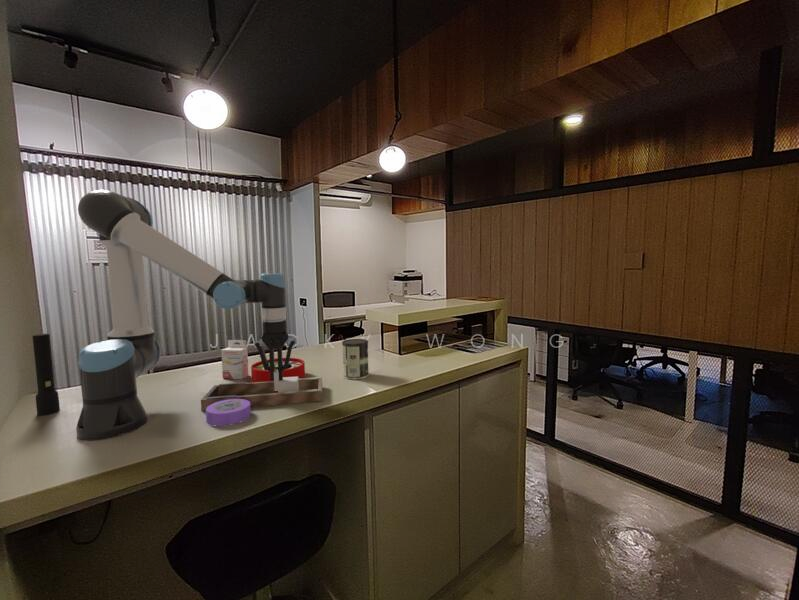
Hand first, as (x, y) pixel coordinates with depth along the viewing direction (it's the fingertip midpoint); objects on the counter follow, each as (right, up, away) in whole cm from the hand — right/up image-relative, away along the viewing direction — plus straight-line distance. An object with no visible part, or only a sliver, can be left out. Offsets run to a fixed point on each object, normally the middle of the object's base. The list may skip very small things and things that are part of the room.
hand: (277, 389), depth 122 cm
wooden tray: (-3, -3, 0) cm, 4 cm away
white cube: (+4, -3, +1) cm, 5 cm away
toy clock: (-7, -1, +22) cm, 23 cm away
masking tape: (-9, -5, -16) cm, 19 cm away
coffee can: (+23, 0, +24) cm, 33 cm away
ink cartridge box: (-24, -1, +23) cm, 34 cm away
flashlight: (-66, -4, -11) cm, 67 cm away
